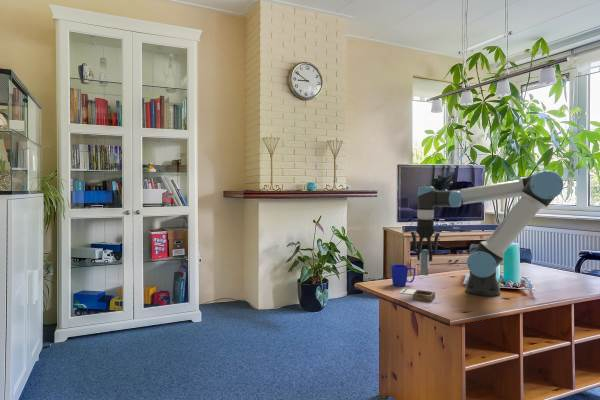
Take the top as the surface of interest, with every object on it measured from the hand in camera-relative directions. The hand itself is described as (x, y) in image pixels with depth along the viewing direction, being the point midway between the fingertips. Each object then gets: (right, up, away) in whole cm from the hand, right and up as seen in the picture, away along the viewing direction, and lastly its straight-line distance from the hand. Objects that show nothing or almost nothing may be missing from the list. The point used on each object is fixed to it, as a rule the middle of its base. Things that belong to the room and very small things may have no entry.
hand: (424, 267), depth 190 cm
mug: (-7, -12, +15) cm, 20 cm away
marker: (0, -3, 0) cm, 3 cm away
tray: (-4, -12, -11) cm, 17 cm away
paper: (-4, -12, 0) cm, 13 cm away
